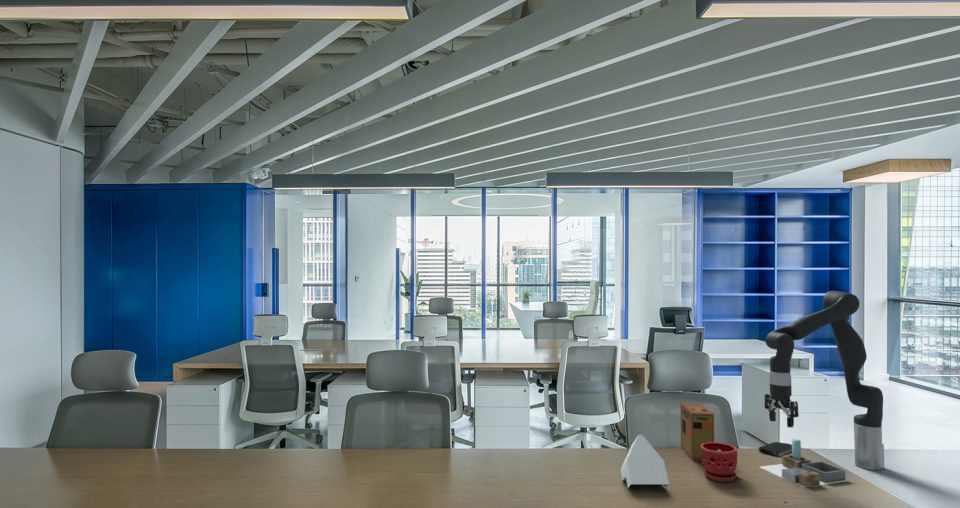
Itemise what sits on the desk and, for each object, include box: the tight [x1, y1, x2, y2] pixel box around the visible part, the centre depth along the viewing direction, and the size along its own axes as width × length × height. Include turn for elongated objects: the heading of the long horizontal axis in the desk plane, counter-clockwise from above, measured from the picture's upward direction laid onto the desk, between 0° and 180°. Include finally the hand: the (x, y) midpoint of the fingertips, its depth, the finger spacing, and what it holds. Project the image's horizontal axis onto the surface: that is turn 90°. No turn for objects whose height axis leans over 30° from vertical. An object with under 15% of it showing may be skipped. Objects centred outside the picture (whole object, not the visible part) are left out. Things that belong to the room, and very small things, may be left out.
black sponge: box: [758, 441, 792, 457], centre depth 225 cm, size 16×8×4 cm, turn 124°
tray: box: [801, 460, 846, 483], centre depth 196 cm, size 10×10×4 cm
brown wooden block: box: [799, 472, 821, 488], centre depth 189 cm, size 7×2×4 cm, turn 105°
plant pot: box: [701, 441, 738, 483], centre depth 199 cm, size 13×13×12 cm
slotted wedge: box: [620, 434, 670, 489], centre depth 194 cm, size 14×11×18 cm
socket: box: [781, 454, 812, 469], centre depth 205 cm, size 7×7×4 cm
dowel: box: [791, 438, 802, 460], centre depth 205 cm, size 3×3×11 cm
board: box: [759, 463, 848, 488], centre depth 199 cm, size 22×20×1 cm
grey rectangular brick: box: [782, 467, 808, 484], centre depth 194 cm, size 8×6×3 cm
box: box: [680, 403, 715, 462], centre depth 224 cm, size 17×9×20 cm, turn 174°
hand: (781, 424), depth 201 cm, fingers open, 8 cm apart
